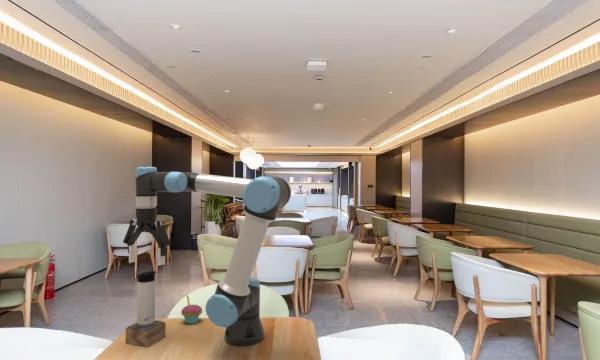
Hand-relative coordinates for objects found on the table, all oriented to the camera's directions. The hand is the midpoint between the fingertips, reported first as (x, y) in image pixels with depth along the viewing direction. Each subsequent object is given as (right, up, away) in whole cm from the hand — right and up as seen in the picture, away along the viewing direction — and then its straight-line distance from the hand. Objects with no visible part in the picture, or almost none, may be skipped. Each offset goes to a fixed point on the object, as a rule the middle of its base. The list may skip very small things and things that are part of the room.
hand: (146, 263), depth 147 cm
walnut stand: (0, -29, 0) cm, 29 cm away
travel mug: (0, -23, 0) cm, 23 cm away
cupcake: (+12, -29, +19) cm, 37 cm away
